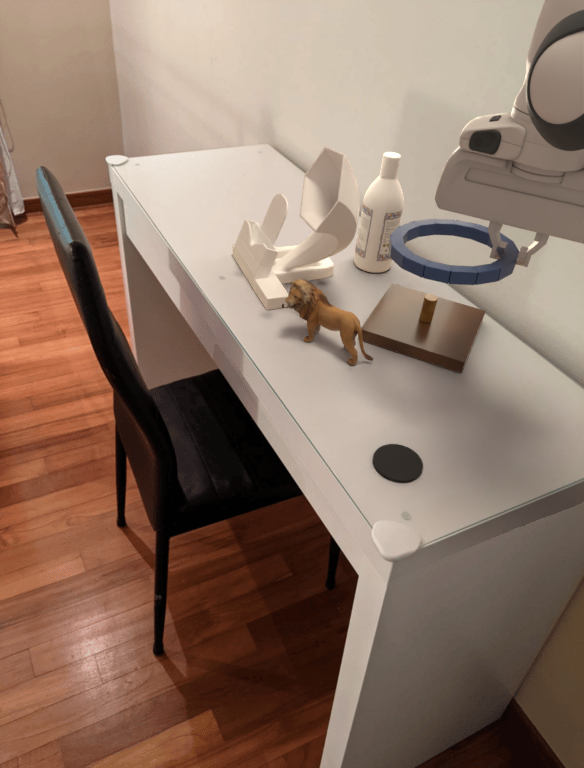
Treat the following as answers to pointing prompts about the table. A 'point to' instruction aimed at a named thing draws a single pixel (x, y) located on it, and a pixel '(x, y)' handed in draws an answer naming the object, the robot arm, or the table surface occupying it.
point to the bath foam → (380, 217)
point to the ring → (444, 271)
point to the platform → (423, 327)
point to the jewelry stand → (311, 258)
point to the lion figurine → (325, 316)
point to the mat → (397, 463)
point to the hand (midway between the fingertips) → (508, 260)
